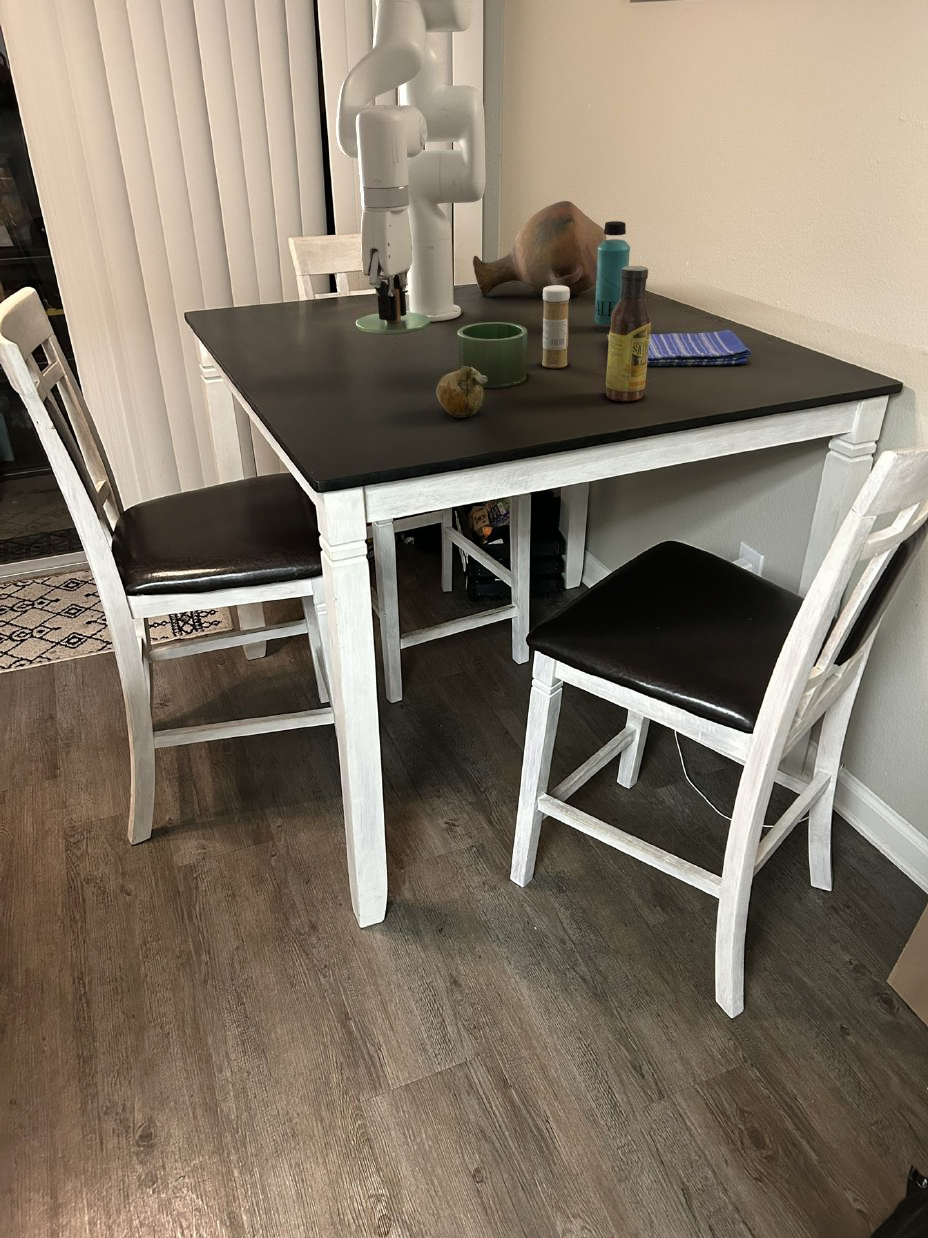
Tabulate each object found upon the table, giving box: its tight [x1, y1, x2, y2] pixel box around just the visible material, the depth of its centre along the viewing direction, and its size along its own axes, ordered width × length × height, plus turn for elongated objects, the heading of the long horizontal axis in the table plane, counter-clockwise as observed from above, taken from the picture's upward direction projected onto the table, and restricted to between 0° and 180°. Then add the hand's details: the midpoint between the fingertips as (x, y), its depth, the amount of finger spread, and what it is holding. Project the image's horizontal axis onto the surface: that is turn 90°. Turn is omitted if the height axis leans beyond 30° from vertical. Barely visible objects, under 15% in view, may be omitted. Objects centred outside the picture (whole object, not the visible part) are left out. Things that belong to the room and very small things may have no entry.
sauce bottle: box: [605, 265, 652, 403], centre depth 143 cm, size 7×6×20 cm
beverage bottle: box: [593, 220, 631, 326], centre depth 178 cm, size 6×7×20 cm
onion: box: [435, 366, 488, 419], centre depth 141 cm, size 8×8×8 cm
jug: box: [472, 200, 607, 298], centre depth 205 cm, size 20×20×30 cm
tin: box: [457, 321, 528, 389], centre depth 156 cm, size 12×12×8 cm
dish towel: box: [607, 329, 753, 367], centre depth 168 cm, size 17×24×3 cm
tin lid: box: [355, 288, 432, 336], centre depth 154 cm, size 13×13×6 cm
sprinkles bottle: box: [541, 285, 571, 370], centre depth 160 cm, size 5×5×14 cm
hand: (392, 316), depth 154 cm, fingers closed on tin lid, 2 cm apart
